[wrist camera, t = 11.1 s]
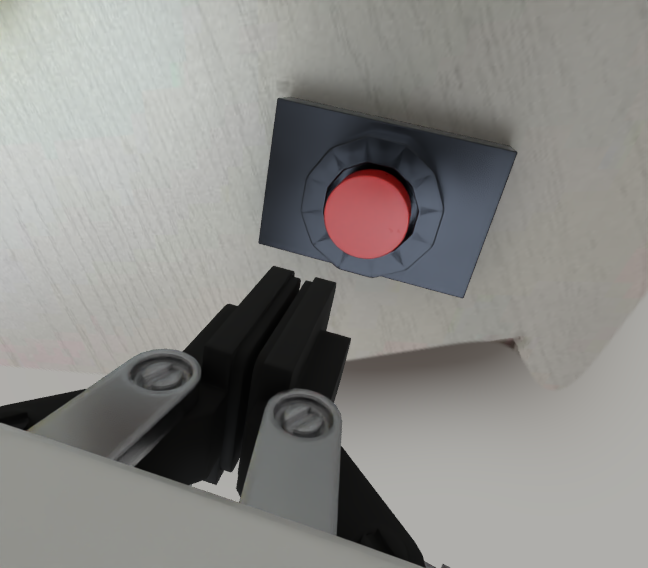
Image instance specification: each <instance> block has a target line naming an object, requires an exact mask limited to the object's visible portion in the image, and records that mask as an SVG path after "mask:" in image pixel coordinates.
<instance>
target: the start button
mask: <svg viewBox="0 0 648 568" xmlns="http://www.w3.org/2000/svg"><path fill="white" fill-rule="evenodd" d="M410 217H411V201H410V197H409V194H408V192H407V190H406V188H405V187H404V185H403V184H402V183H401V182H400V181H399V180H398V179H397V178H396V177H395V176H393V175H391V174H390V173H388V172H385V171H382V170H378V169H363V170H359V171H356V172H354V173H352V174H350V175H348V176H347V177H346V178H344V179H343V180H342V181H341V182H340V183H339V184H338V185H337V186H336V187H335V188H334V190H333V191H332V192H331V194H330V195H329V197H328V199H327V202H326V205H325V209H324V222H325V227H326V230H327V232H328V235H329V236H330V238H331V240H332V241H333V242H334V244H335V245H336V246H337V247H338V248H340V249H341V250H342V251H344V252H345V253H347V254H349V255H351V256H354V257H357V258H364V259H373V258H378V257H381V256H384V255H386V254H388V253H390V252H392V251H393V250H394V249H395V248H397V247H398V246H399V244H400V243H401V242H402V241H403V239H404V237H405V235H406V233H407V230H408V226H409V222H410Z"/></svg>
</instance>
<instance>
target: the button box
mask: <svg viewBox="0 0 648 568" xmlns="http://www.w3.org/2000/svg"><path fill="white" fill-rule="evenodd" d="M516 155H517V152H516V151H515V150H514V149H513V148H512V147H511V146H508V145H504V144H499V143H495V142H490V141H486V140H481V139H477V138H472V137H468V136H464V135H459V134H455V133H450V132H446V131H441V130H437V129H432V128H428V127H423V126H419V125H414V124H410V123H406V122H401V121H397V120H392V119H388V118H383V117H379V116H374V115H370V114H365V113H361V112H356V111H352V110H348V109H343V108H339V107H334V106H330V105H325V104H321V103H316V102H312V101H307V100H303V99H298V98H294V97H284V98H278V99H277V107H276V114H275V122H274V129H273V137H272V144H271V152H270V160H269V167H268V175H267V182H266V190H265V197H264V205H263V213H262V220H261V228H260V235H259V244H263V245H267V246H270V247H274V248H278V249H282V250H285V251H289V252H293V253H296V254H300V255H304V256H308V257H311V258H315V259H319V260H322V261H326V262H330V263H332V264H333V265H334V266H336V267H337V268H338V269H341V270H344V271H348V272H352V273H355V274H359V275H363V276H367V277H370V278H371V277H372V278H374V277H379V276H382V277H385V278H389V279H393V280H397V281H400V282H404V283H408V284H411V285H415V286H419V287H423V288H426V289H430V290H434V291H437V292H441V293H445V294H449V295H452V296H456V297H460V298H464V295H465V293H466V290H467V287H468V284H469V282H470V279H471V276H472V274H473V271H474V268H475V266H476V263H477V260H478V257H479V255H480V252H481V249H482V247H483V244H484V241H485V239H486V236H487V233H488V231H489V228H490V225H491V222H492V220H493V217H494V214H495V212H496V209H497V206H498V204H499V201H500V198H501V195H502V193H503V190H504V187H505V185H506V182H507V179H508V177H509V174H510V171H511V168H512V166H513V163H514V160H515V158H516ZM363 169H378V170H382V171H385V172H388V173H390V174H391V175H393V176H395V177H396V178H397V179H398V180H399V181H400V182H401V183H402V184H403V185H404V187H405V188H406V190H407V192H408V194H409V197H410V201H411V217H410V222H409V226H408V230H407V233H406V235H405V237H404V239H403V241H402V242H401V243H400V244H399V246H398V247H397V248H395V249H394V250H393V251H392V252H390V253H388V254H386V255H384V256H381V257H378V258H373V259H364V258H357V257H354V256H351V255H349V254H347V253H345V252H344V251H342V250H341V249H340V248H338V247H337V246H336V245H335V244H334V242H333V241H332V240H331V238H330V236H329V235H328V232H327V230H326V227H325V222H324V209H325V205H326V202H327V199H328V197H329V195H330V194H331V192H332V191H333V190H334V188H335V187H336V186H337V185H338V184H339V183H340V182H341V181H342V180H343V179H344V178H346V177H347V176H348V175H350V174H352V173H354V172H356V171H359V170H363Z"/></svg>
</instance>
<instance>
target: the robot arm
mask: <svg viewBox="0 0 648 568" xmlns="http://www.w3.org/2000/svg"><path fill="white" fill-rule="evenodd" d="M294 274H295V273H294V271H291V270H287V269H284V268H280V267H276V266H273V267H271V269H270V270H269V271H268V272H267V273H266V274H265V276H264V277H263V278H262V279H261V280H260V281H259V283H258V284H257V285H256V286H255V287H254V288H253V289H252V291H251V292H250V293H249V294H248V295H247V296H246V298H245V299H244V300H243V301H242V302H241V303H240V304H239V306H235V305H232V304H227V305H226V306H224V308H223V309H222V310H221V311H220V312H219V313H218V314H217V315H216V316H215V317H214V318H213V319H212V320H211V322H210V323H209V324H208V325H207V326H206V327H205V328H204V329H203V330H202V331H201V332H200V333H199V335H198V336H197V337H196V338H195V339H194V340H193V341H192V342H191V343H190V344H189V345H188V346H187V348H186V349H185V350H184V351H183V352H181V351H178V350H172V349H156V350H150V351H146V352H143V353H140V354H138V355H136V356H134V357H133V358H131V359H130V360H128V361H127V362H125V363H124V364H122V365H121V366H119V367H118V368H117V369H115V370H114V371H112V372H111V373H109V374H108V375H106V376H105V377H103V378H102V379H101V380H99V381H98V382H96V383H95V384H94V385H92V386H91V387H89V388H88V389H83V390H78V391H74V392H68V393H64V394H58V395H54V396H49V397H44V398H39V399H34V400H29V401H24V402H19V403H14V404H10V405H4V406H1V407H0V568H436V567H434V566H432V565H430V564H428V563H427V562H425V561H424V559H423V556H422V553H421V552H420V550H419V548H418V547H417V545H416V543H415V542H414V540H413V539H412V538H411V536H410V535H409V534H408V532H407V531H406V530H405V528H404V527H403V526H402V525H401V523H400V522H399V521H398V519H397V518H396V517H395V515H394V514H393V513H392V511H391V510H390V509H389V508H388V506H387V505H386V504H385V502H384V501H383V500H382V498H381V497H380V496H379V494H378V493H377V492H376V491H375V489H374V488H373V487H372V485H371V484H370V483H369V481H368V480H367V479H366V478H365V476H364V475H363V474H362V472H361V471H360V470H359V468H358V467H357V466H356V465H355V463H354V462H353V461H352V459H351V458H350V457H349V455H348V454H347V453H346V451H345V450H344V449H343V447H342V446H341V433H342V419H341V413H340V411H339V410H338V408H337V406H336V405H335V404H334V400H335V397H336V394H337V390H338V387H339V383H340V380H341V376H342V373H343V369H344V365H345V361H346V357H347V353H348V349H349V345H350V341H351V338H348V337H345V336H341V335H338V334H334V333H331V332H327V331H326V329H327V325H328V320H329V316H330V311H331V307H332V302H333V298H334V294H335V289H336V282H332V281H328V280H324V279H321V278H317V277H315V279H314V280H313V282H311V281H307V280H306V281H305V283H304V284H303V286H302V287H301V289H300V291H299V288H300V282H301V280H300V279H299V278H296V277H294ZM239 458H240V462H239V468H238V480H237V488H236V489H237V491H238V493H239V495H240V497H241V498H240V501H239V502H235V501H233V500H230V499H227V498H224V497H221V496H218V495H215V494H212V493H209V492H206V491H203V490H200V489H197V488H195V487H192V484H193V483H196V482H199V481H202V480H203V481H206V482H209V483H212V484H215V485H217V483H218V481H219V479H220V477H221V475H222V473H223V471H224V470H225V471H228V472H232V471H233V470H234V468H235V466H236V464H237V462H238V460H239ZM441 568H450V567H448V566H446V565H444V564H443V565H442V567H441Z"/></svg>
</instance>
